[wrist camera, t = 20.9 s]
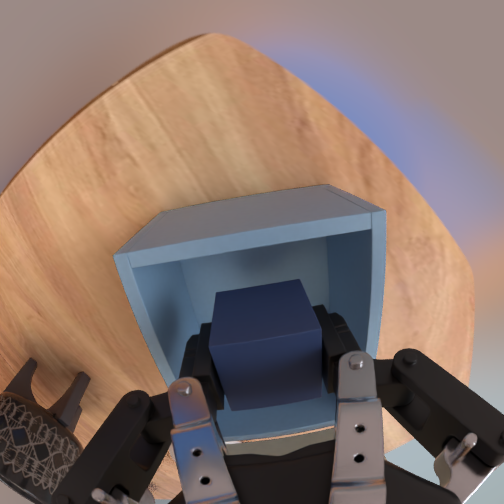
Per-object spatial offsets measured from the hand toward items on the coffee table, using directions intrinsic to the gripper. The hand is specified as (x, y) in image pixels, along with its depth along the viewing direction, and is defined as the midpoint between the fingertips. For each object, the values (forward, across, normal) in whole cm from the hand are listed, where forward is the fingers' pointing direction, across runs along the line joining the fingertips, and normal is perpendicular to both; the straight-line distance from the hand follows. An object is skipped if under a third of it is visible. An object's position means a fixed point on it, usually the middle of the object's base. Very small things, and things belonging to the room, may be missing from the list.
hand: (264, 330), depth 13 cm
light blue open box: (+9, 0, +3) cm, 10 cm away
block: (+1, 0, 0) cm, 1 cm away
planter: (+9, +27, +13) cm, 31 cm away
